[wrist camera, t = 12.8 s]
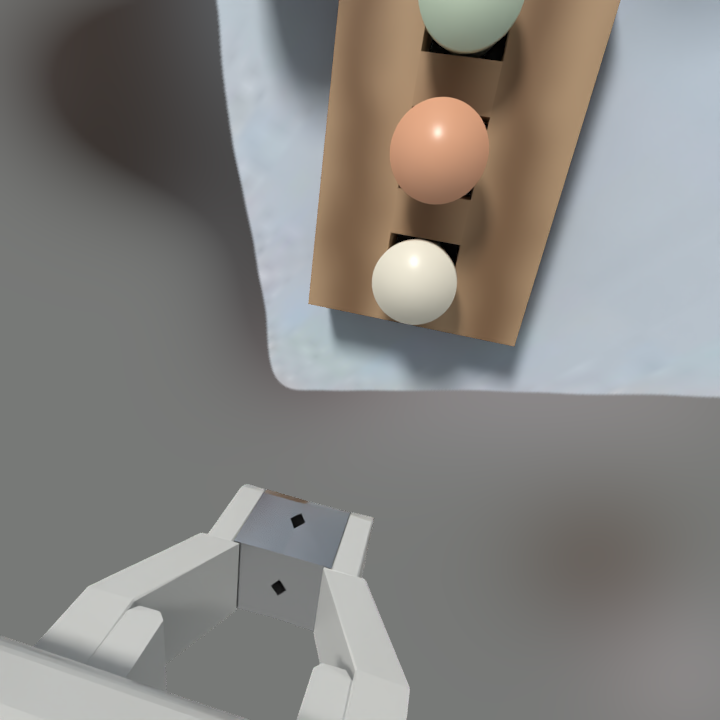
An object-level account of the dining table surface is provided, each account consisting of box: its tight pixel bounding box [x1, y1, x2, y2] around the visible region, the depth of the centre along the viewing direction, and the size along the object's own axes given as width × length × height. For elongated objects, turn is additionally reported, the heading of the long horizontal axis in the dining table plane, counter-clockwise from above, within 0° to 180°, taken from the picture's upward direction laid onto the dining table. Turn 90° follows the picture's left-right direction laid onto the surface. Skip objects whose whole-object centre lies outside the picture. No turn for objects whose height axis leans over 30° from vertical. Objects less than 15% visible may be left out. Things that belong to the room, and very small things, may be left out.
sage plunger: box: [418, 0, 524, 58], centre depth 27 cm, size 6×6×8 cm
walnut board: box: [308, 0, 620, 346], centre depth 33 cm, size 16×24×5 cm, turn 172°
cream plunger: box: [372, 238, 457, 325], centre depth 34 cm, size 6×6×8 cm
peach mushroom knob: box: [390, 97, 489, 205], centre depth 30 cm, size 6×6×8 cm
